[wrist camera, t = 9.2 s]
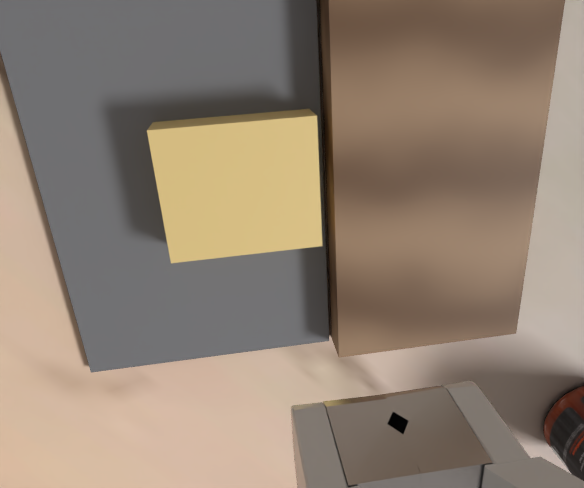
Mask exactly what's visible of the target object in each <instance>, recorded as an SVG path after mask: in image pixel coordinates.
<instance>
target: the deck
mask: <svg viewBox="0 0 584 488" xmlns="http://www.w3.org/2000/svg"><path fill="white" fill-rule="evenodd" d="M564 4H565V0H319V7H320V35H321V63H322V92H323V120H324V148H325V177H326V205H327V233H328V261H329V290H330V318H331V337H332V340H333V343H334V345H335V348H336V351H337V354H338V356H339V357H346V356H354V355H361V354H368V353H376V352H383V351H390V350H398V349H405V348H412V347H420V346H427V345H434V344H442V343H449V342H456V341H464V340H471V339H478V338H486V337H493V336H500V335H508V334H515V333H516V330H517V324H518V317H519V310H520V303H521V296H522V290H523V283H524V276H525V269H526V262H527V256H528V249H529V242H530V235H531V228H532V221H533V215H534V208H535V201H536V194H537V187H538V181H539V174H540V167H541V160H542V153H543V147H544V140H545V133H546V126H547V119H548V112H549V106H550V99H551V92H552V85H553V78H554V72H555V65H556V58H557V51H558V44H559V38H560V31H561V24H562V17H563V10H564Z"/></svg>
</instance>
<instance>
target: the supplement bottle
mask: <svg viewBox="0 0 584 488" xmlns="http://www.w3.org/2000/svg"><path fill="white" fill-rule="evenodd" d="M544 436H545V438H546V441H547V443H548V444H549V446H550V447H551V448H552V450H553V451H554V452H555V454H556V455H557V456H558V457H559V459H560V460H561V461H562V462H563V464H564V465H565V466H566V467H567V468H568V470H569V471H570V472H571V473H572V475H574V476H576V477H577V478H579V479H581V480H583V481H584V386H582V387H579V388H577V389H574V390H573V391H571V392H569V393H567V394H566V395H564V396H563V397H562V398H560V399H559V400H558V401H557V402H556V403H555V404H554V405H553V407H552V408H551V410H550V411H549V413H548V415H547V417H546V420H545V423H544Z"/></svg>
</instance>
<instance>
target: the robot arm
mask: <svg viewBox="0 0 584 488" xmlns="http://www.w3.org/2000/svg"><path fill="white" fill-rule="evenodd" d="M291 420H292V434H293V448H294V461H295V470H296V479H297V488H584V481H583V480H581V479H579V478H577V477H576V476H574V475H572V474H570V473H568V472H567V471H565V470H563V469H561V468H559V467H558V466H556V465H554V464H552V463H551V462H549V461H547V460H545V459H543V458H542V457H536V458H530V456H529V455H528V454H527V452H526V451H525V450H524V448H523V447H522V445H521V444H520V443H519V441H518V440H517V439H516V437H515V436H514V435H513V433H512V432H511V430H510V429H509V428H508V426H507V425H506V424H505V422H504V421H503V420H502V418H501V417H500V415H499V414H498V413H497V411H496V410H495V409H494V407H493V406H492V405H491V403H490V402H489V400H488V399H487V398H486V396H485V395H484V394H483V392H482V391H481V390H480V388H479V387H478V385H477V384H475V383H474V382H472V381H465V382H459V383H452V384H446V385H441V386H435V387H429V388H422V389H415V390H409V391H402V392H395V393H389V394H382V395H375V396H366V397H358V398H349V399H341V400H332V401H323V403H322V402H321V403H312V404H303V405H294V406H292V407H291Z"/></svg>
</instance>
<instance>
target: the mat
mask: <svg viewBox="0 0 584 488" xmlns="http://www.w3.org/2000/svg"><path fill="white" fill-rule="evenodd" d="M0 52H1V55H2V59H3V62H4V66H5V69H6V73H7V76H8V80H9V84H10V87H11V91H12V94H13V98H14V101H15V105H16V108H17V112H18V115H19V119H20V122H21V126H22V130H23V133H24V137H25V140H26V144H27V147H28V151H29V154H30V158H31V161H32V165H33V168H34V172H35V176H36V179H37V183H38V186H39V190H40V193H41V197H42V200H43V204H44V207H45V211H46V214H47V218H48V222H49V225H50V229H51V232H52V236H53V239H54V243H55V246H56V250H57V253H58V257H59V260H60V264H61V268H62V271H63V275H64V278H65V282H66V285H67V289H68V292H69V296H70V299H71V303H72V307H73V310H74V314H75V317H76V321H77V324H78V328H79V331H80V335H81V338H82V342H83V345H84V349H85V353H86V356H87V360H88V363H89V367H90V370H91V372H98V371H105V370H113V369H120V368H128V367H135V366H143V365H150V364H158V363H165V362H173V361H181V360H188V359H196V358H203V357H211V356H218V355H226V354H233V353H241V352H248V351H256V350H263V349H271V348H278V347H286V346H294V345H301V344H309V343H316V342H324V341H329V324H328V297H327V271H326V244H325V217H324V191H323V164H322V137H321V111H320V84H319V57H318V31H317V4H316V0H0ZM300 109H310V110H311V111H312V112H313V113H315V114H316V115H317V126H318V151H319V175H320V199H321V223H322V246H319V247H310V248H301V249H293V250H284V251H275V252H266V253H258V254H249V255H240V256H231V257H223V258H214V259H205V260H196V261H188V262H179V263H171V261H170V255H169V250H168V244H167V239H166V233H165V228H164V222H163V217H162V211H161V206H160V200H159V195H158V189H157V184H156V178H155V173H154V167H153V162H152V156H151V151H150V145H149V140H148V134H147V130H148V128H149V127H150V125H151V124H152V123H153V122H160V121H172V120H184V119H195V118H207V117H219V116H230V115H242V114H253V113H265V112H277V111H288V110H300Z"/></svg>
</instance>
